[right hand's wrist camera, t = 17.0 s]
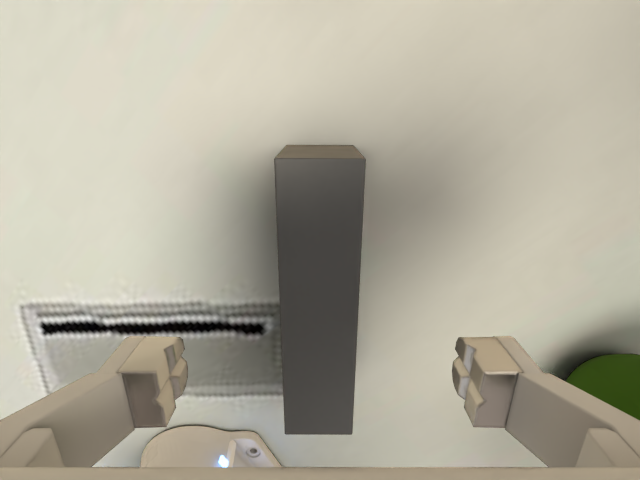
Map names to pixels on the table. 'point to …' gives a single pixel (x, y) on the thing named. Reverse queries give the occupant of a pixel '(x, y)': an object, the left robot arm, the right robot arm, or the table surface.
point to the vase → (611, 381)
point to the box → (319, 282)
